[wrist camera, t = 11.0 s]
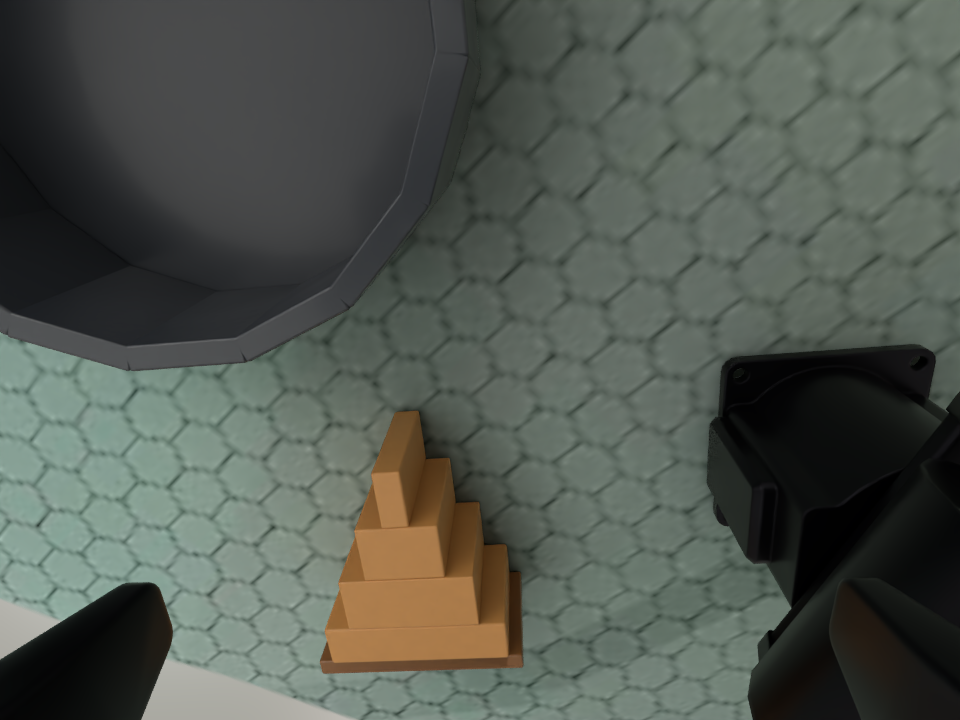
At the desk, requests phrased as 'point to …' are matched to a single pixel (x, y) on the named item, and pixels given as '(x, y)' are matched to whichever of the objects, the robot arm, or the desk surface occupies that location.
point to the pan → (216, 165)
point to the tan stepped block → (422, 574)
